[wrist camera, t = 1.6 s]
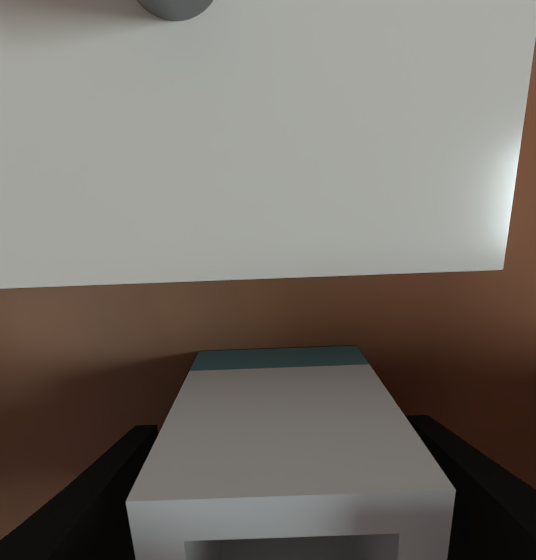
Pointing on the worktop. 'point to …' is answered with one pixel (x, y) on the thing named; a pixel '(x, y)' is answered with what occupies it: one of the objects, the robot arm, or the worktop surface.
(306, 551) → the sleeve
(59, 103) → the pin board
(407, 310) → the worktop surface
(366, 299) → the worktop surface
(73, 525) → the robot arm
